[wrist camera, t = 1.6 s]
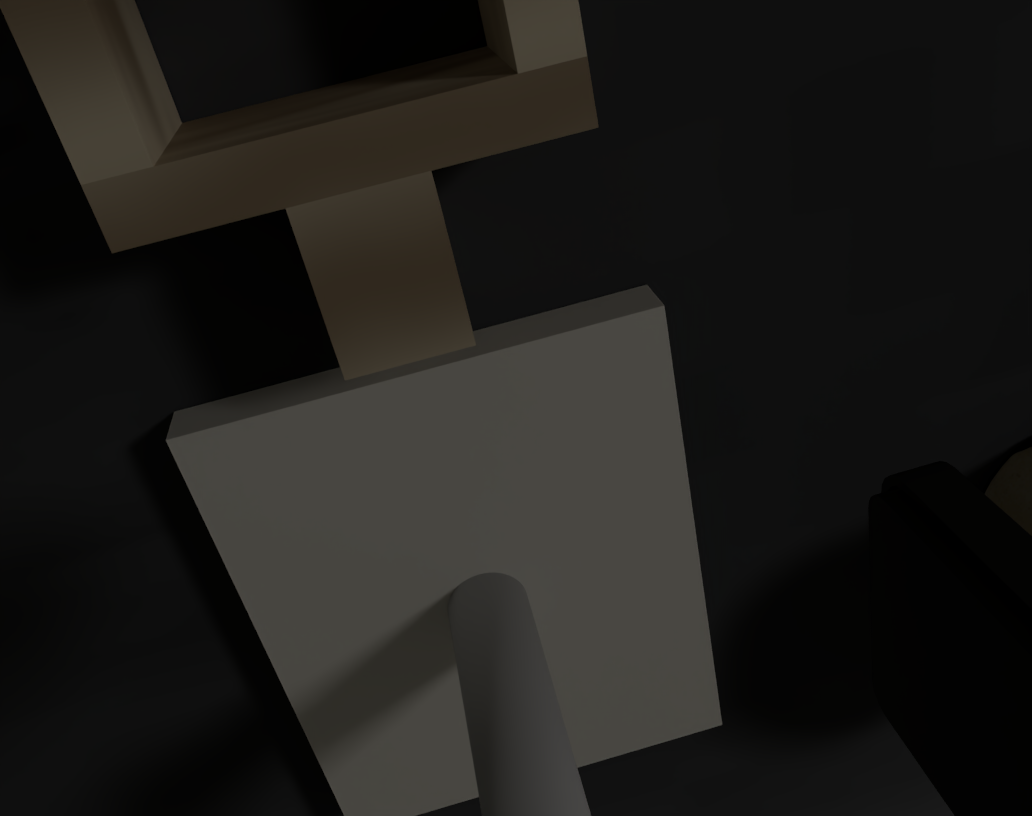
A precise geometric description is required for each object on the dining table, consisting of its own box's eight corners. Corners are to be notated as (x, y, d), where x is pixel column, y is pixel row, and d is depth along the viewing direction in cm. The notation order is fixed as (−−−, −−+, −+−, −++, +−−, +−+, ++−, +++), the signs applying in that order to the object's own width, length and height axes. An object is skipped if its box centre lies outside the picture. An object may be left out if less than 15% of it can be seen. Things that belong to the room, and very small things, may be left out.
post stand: (174, 411, 24) (38, 865, 13) (646, 284, 25) (916, 608, 14) (352, 796, 32) (365, 1288, 21) (706, 692, 33) (908, 1113, 22)
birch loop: (-77, -332, 17) (-182, -393, 13) (458, -452, 17) (491, -540, 14) (209, 347, 24) (189, 422, 20) (584, 247, 24) (627, 304, 21)
